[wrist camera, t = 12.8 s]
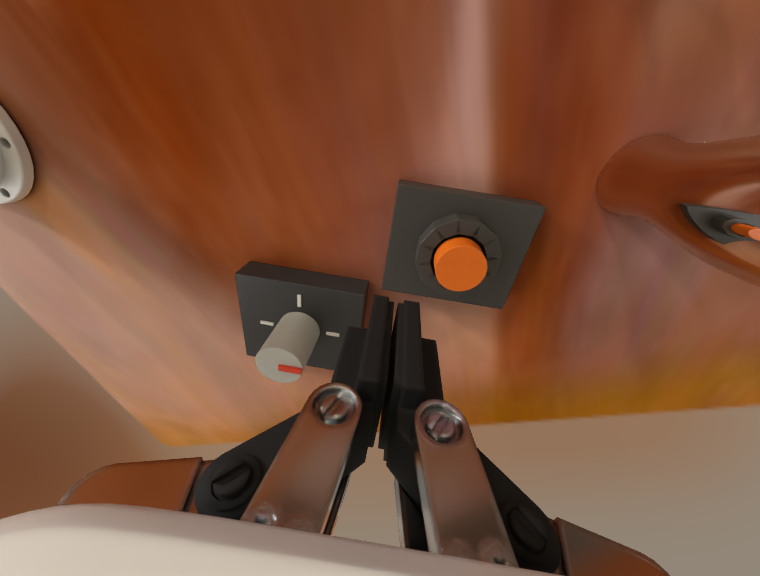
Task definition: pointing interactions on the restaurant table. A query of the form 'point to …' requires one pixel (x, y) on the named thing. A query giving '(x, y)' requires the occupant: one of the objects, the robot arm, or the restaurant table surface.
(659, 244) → the restaurant table surface
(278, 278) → the panel
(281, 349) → the timer knob
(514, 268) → the power block
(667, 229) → the beer glass
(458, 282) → the power button
